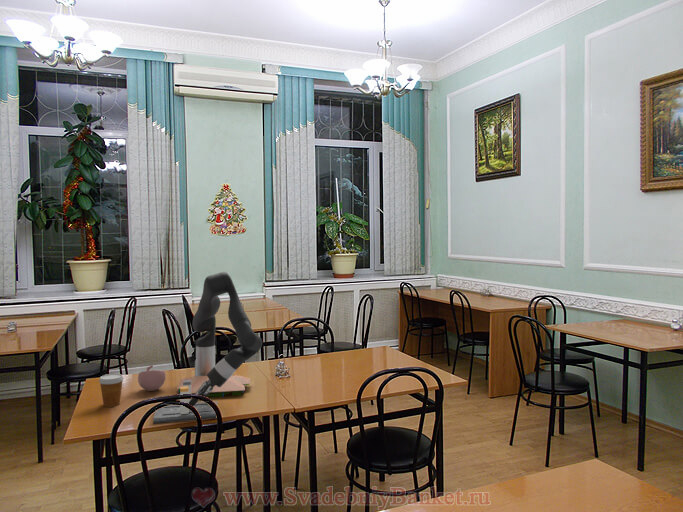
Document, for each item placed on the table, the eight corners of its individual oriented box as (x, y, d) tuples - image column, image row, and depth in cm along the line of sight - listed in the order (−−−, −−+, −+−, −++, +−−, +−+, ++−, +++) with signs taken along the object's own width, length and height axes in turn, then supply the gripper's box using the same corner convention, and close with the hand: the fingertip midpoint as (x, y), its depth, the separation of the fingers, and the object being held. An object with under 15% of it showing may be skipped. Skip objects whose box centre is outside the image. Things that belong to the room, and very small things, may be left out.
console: (153, 423, 194) (153, 418, 194) (157, 410, 209) (157, 405, 209) (217, 418, 200) (217, 412, 200) (217, 405, 215) (217, 400, 215)
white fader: (191, 406, 211) (191, 379, 210) (191, 408, 208) (190, 381, 207) (183, 406, 210) (183, 380, 210) (183, 409, 207) (183, 382, 207)
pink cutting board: (251, 397, 228) (251, 379, 228) (174, 401, 222) (174, 383, 221) (250, 382, 251) (249, 366, 250) (180, 386, 244) (180, 369, 244)
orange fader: (188, 413, 202) (188, 386, 201) (188, 416, 199) (188, 388, 199) (180, 414, 201) (180, 386, 201) (180, 416, 198) (180, 388, 198)
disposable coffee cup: (99, 409, 210) (99, 380, 209) (98, 402, 218) (98, 375, 218) (124, 406, 214) (124, 377, 214) (123, 399, 223) (122, 372, 222)
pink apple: (166, 385, 244) (165, 361, 243) (165, 392, 232) (165, 368, 232) (139, 387, 240) (138, 363, 240) (137, 395, 229) (136, 370, 228)
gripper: (229, 383, 197) (196, 416, 194) (228, 374, 210) (197, 405, 207) (215, 370, 195) (182, 404, 193) (214, 362, 208) (183, 393, 206)
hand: (190, 405), depth 200 cm, fingers closed
